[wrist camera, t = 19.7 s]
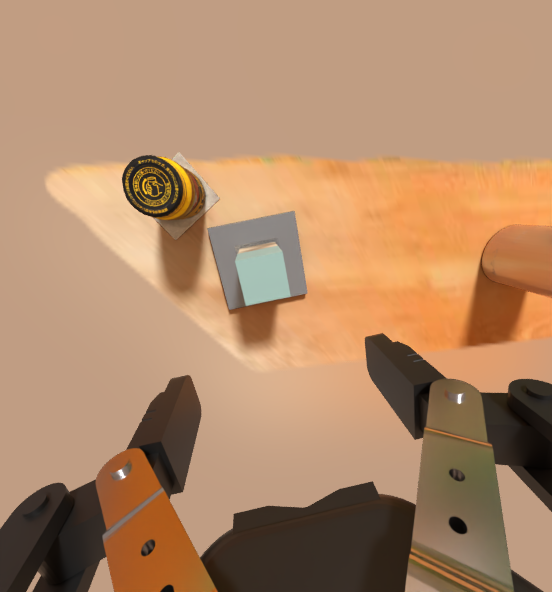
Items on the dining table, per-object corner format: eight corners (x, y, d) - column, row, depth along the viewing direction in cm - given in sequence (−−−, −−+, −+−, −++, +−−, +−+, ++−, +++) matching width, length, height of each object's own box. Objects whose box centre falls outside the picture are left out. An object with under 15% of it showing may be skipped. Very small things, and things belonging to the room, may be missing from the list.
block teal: (277, 245, 32) (282, 251, 27) (285, 284, 33) (290, 296, 29) (237, 253, 32) (235, 261, 27) (246, 292, 33) (245, 305, 29)
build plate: (293, 211, 37) (294, 210, 36) (305, 291, 41) (307, 293, 39) (208, 227, 36) (207, 228, 35) (229, 307, 40) (229, 309, 39)
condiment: (220, 198, 35) (205, 192, 24) (176, 240, 37) (142, 253, 25) (179, 152, 33) (142, 121, 22) (134, 198, 34) (76, 191, 23)
